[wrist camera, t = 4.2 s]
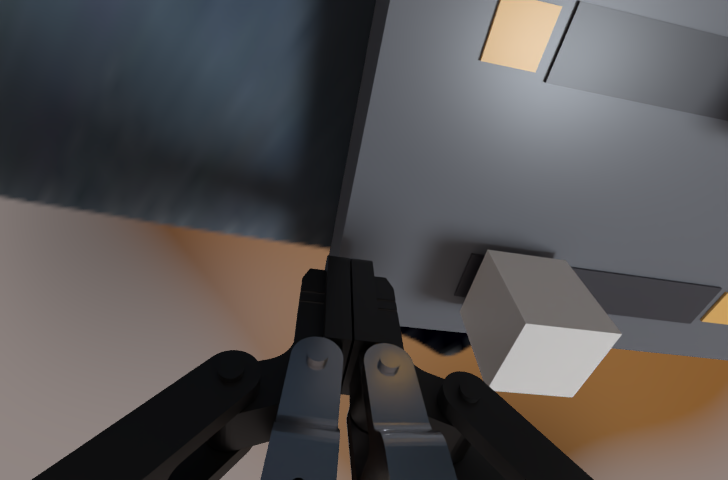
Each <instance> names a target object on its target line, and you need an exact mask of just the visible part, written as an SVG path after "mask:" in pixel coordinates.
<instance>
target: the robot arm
mask: <svg viewBox="0 0 728 480" xmlns="http://www.w3.org/2000/svg"><path fill="white" fill-rule="evenodd" d="M395 301H396V299H395V293H394V288H393V287H392V286H391V284H390V283H389V281H388V280H387V278H384V277H376V276H374V268H373V261H369V260H362V259H354V258H351V259H349V258H345V257H338V256H330V255H328V256H327V261H326V266H325V270H318V269H309V271H308V272H307V273H306V274H305V276H304V277H303V278H302V285H301V292H300V299H299V306H298V313H297V321H296V329H295V337H294V343H293V345H292V346H291V348H290V349H289V350H288V351H286V352H285V353H284V354H282V355H280V356H278V357H275V358H272V359H268V360H262V361H257V360H256V359H255V358H254V357H253V356H252V355H250V354H248V353H246V352H243V351H237V350H230V351H224V352H221V353H219V354H216V355H215V356H213V357H211V358H210V359H208V360H207V361H205V362H204V363H203V364H201V365H200V366H198V367H197V368H195V369H194V370H192V371H191V372H189V373H188V374H186V375H185V376H183V377H182V378H180V379H179V380H177V381H176V382H175V383H173V384H172V385H170V386H169V387H167V388H166V389H164V390H163V391H161V392H160V393H159V394H157V395H155V396H154V397H152V398H151V399H150V400H148V401H147V402H145V403H144V404H142V405H141V406H139V407H138V408H136V409H135V410H133V411H132V412H131V413H129V414H128V415H126V416H125V417H123V418H122V419H120V420H119V421H117V422H116V423H114V424H113V425H111V426H110V427H109V428H107V429H105V430H104V431H102V432H101V433H100V434H98V435H97V436H95V437H94V438H92V439H91V440H89V441H88V442H86V443H85V444H83V445H82V446H80V447H79V448H78V449H76V450H75V451H73V452H72V453H70V454H69V455H67V456H66V457H64V458H63V459H61V460H60V461H58V462H57V463H55V464H54V465H53V466H51V467H50V468H48V469H47V470H46V471H44V472H42V473H41V474H39V475H38V476H36V477H35V478H33V479H32V480H219V479H221V478H222V476H224V475H225V474H226V473H227V472H228V471H229V470H230V469H231V468H232V467H233V466H234V465H235V464H236V463H237V462H238V461H239V460H240V459H241V458H242V457H243V456H244V455H245V454H246V453H247V452H248V451H249V450H250V449H251V447H252V446H254V445H258V444H261V443H265V442H269V445H268V450H267V454H266V458H265V462H264V467H263V471H262V476H261V480H336V478H337V465H338V453H339V439H340V430H339V429H338V417H339V404H340V394H345V395H350V407H349V411H348V414H347V431H348V442H349V454H350V465H351V475H352V480H593V479H592V478H591V477H590V476H589V475H588V474H587V473H586V472H584V471H583V470H582V469H581V468H580V467H579V466H578V465H577V464H575V463H574V462H573V461H572V460H571V459H570V458H569V457H568V456H566V455H565V454H564V453H563V452H562V451H561V450H560V449H559V448H557V447H556V446H555V445H554V444H553V443H552V442H551V441H550V440H548V439H547V438H546V437H545V436H544V435H543V434H542V433H541V432H540V431H538V430H537V429H536V428H535V427H534V426H533V425H532V424H531V423H530V422H528V421H527V420H526V419H525V418H524V417H523V416H522V415H521V414H519V413H518V412H517V411H516V410H515V409H514V408H513V407H512V406H510V405H509V404H508V403H507V402H506V401H505V400H504V399H503V398H502V397H500V396H499V395H498V394H497V393H496V392H495V391H494V390H493V389H491V388H490V387H489V386H488V385H487V384H486V383H485V382H484V381H482V380H481V379H480V378H478V377H477V376H475V375H473V374H470V373H467V372H460V371H459V372H453V373H451V374H449V375H448V376H447V377H446V378H445V379H443V378H440V377H437V376H435V375H432V374H430V373H427V372H424V371H423V370H421V369H419V368H418V367H416V366H415V365H414V364H413V362H412V359H411V357H410V356H409V355H408V354H407V353H406V352H405V351H404V348H403V342H402V336H401V330H400V324H399V318H398V313H397V305H396V303H395Z"/></svg>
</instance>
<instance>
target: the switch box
mask: <svg viewBox="0 0 728 480" xmlns="http://www.w3.org/2000/svg"><path fill="white" fill-rule="evenodd" d="M487 250H494V251H502V252H509V253H516V254H523V255H530V256H538V257H545V258H552V259H559V260H566V261H567V263H568V264H569V265H570V267H571V268H572V269H573V270H574V272H575V273H576V274H577V276H578V277H579V278H580V280H581V281H582V282H583V284H584V285H585V286H586V287H587V289H588V290H589V291H590V293H591V294H592V295H593V297H594V298H595V299H596V301H597V302H598V303H599V304H600V306H601V307H602V308H603V310H604V311H605V312H606V314H607V315H608V316H609V318H610V319H611V320H612V321H613V323H614V324H615V325H616V327H617V328H618V329H619V331H620V332H621V333H622V335H621V336H620V338H619V339H618V340H617V342H616V343H615V344H614V345H613V347H612V348H616V349H625V350H635V351H644V352H654V353H663V354H673V355H683V356H692V357H702V358H711V359H721V360H728V0H376V3H375V9H374V14H373V19H372V25H371V30H370V36H369V41H368V47H367V52H366V57H365V63H364V68H363V74H362V79H361V85H360V90H359V96H358V101H357V106H356V112H355V117H354V123H353V128H352V134H351V139H350V144H349V150H348V155H347V161H346V166H345V172H344V177H343V182H342V188H341V193H340V199H339V204H338V210H337V215H336V220H335V226H334V231H333V237H332V242H331V248H330V253H329V255H330V256H338V257H345V258H349V259H351V258H354V259H362V260H369V261H373V268H374V276H376V277H384V278H387V280H388V281H389V283H390V284H391V286H392V287H393V288H394V293H395V299H396V301H395V303H396V305H397V313H398V318H399V324H400V326H405V327H414V328H424V329H433V330H443V331H453V332H462V333H467V331H466V329H465V326H464V323H463V320H462V317H461V314H460V310H461V308H462V305H463V303H464V301H465V299H466V296H467V294H468V292H469V290H470V288H471V285H472V283H473V281H474V279H475V276H476V274H477V272H478V270H479V268H480V265H481V263H482V261H483V259H484V256H485V254H486V252H487Z"/></svg>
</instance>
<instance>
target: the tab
mask: <svg viewBox="0 0 728 480" xmlns="http://www.w3.org/2000/svg"><path fill="white" fill-rule="evenodd" d="M460 314H461V317H462V320H463V323H464V326H465V329H466V331H467V334H468V337H469V340H470V343H471V346H472V349H473V352H474V355H475V357H476V360H477V363H478V366H479V369H480V372H481V375H482V378H483V381H484V382H485V383H486V384H487V385H488V386H489V387H490V388H491V389H493V390H494V391H503V392H514V393H526V394H539V395H551V396H562V397H573V396H574V395H575V393H576V392H577V391H578V390H579V388H580V387H581V386H582V385H583V383H584V382H585V381H586V380H587V378H588V377H589V375H590V374H591V373H592V372H593V371H594V369H595V368H596V367H597V366H598V364H599V363H600V362H601V361H602V359H603V358H604V357H605V355H606V354H607V353H608V352H609V350H610V349H611V348H612V347H613V345H614V344H615V343H616V342H617V340H618V339H619V338H620V336H621V335H622V333H621V332H620V331H619V329H618V328H617V327H616V325H615V324H614V323H613V321H612V320H611V319H610V318H609V316H608V315H607V314H606V312H605V311H604V310H603V308H602V307H601V306H600V304H599V303H598V302H597V301H596V299H595V298H594V297H593V295H592V294H591V293H590V291H589V290H588V289H587V287H586V286H585V285H584V284H583V282H582V281H581V280H580V278H579V277H578V276H577V274H576V273H575V272H574V270H573V269H572V268H571V267H570V265H569V264H568V263H567V261H566V260H559V259H552V258H545V257H538V256H530V255H523V254H516V253H509V252H502V251H494V250H487V252H486V254H485V256H484V259H483V261H482V263H481V265H480V268H479V270H478V272H477V274H476V276H475V279H474V281H473V283H472V285H471V288H470V290H469V292H468V294H467V296H466V299H465V301H464V303H463V305H462V308H461V310H460Z"/></svg>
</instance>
